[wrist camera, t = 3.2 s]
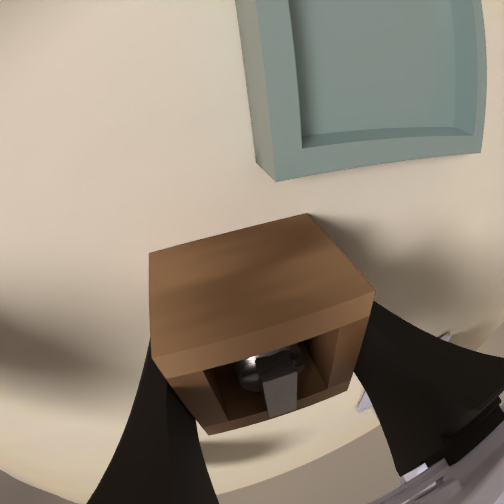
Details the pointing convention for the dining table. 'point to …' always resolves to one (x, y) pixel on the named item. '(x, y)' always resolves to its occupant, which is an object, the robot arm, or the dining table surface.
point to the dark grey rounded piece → (273, 377)
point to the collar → (255, 316)
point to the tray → (362, 81)
